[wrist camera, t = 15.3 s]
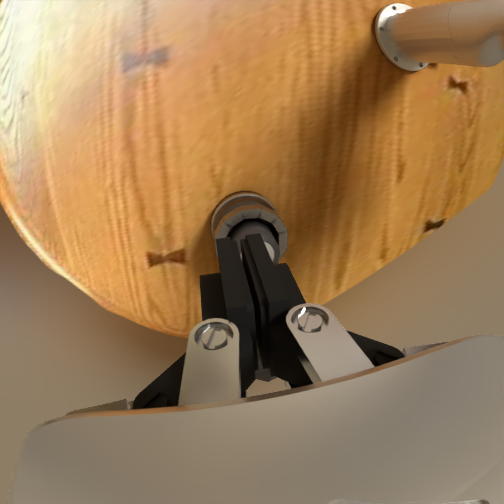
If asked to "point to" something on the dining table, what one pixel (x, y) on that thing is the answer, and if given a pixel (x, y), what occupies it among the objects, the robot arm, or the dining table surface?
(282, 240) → the lens barrel
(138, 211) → the dining table surface
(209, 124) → the dining table surface
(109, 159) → the dining table surface
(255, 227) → the dark grey short cylinder
